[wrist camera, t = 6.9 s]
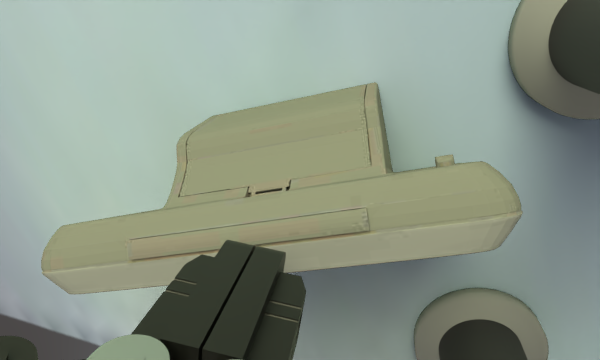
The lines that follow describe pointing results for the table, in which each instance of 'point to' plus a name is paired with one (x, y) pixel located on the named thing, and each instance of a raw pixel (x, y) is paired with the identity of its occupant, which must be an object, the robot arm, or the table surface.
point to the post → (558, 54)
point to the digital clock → (291, 200)
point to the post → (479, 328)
